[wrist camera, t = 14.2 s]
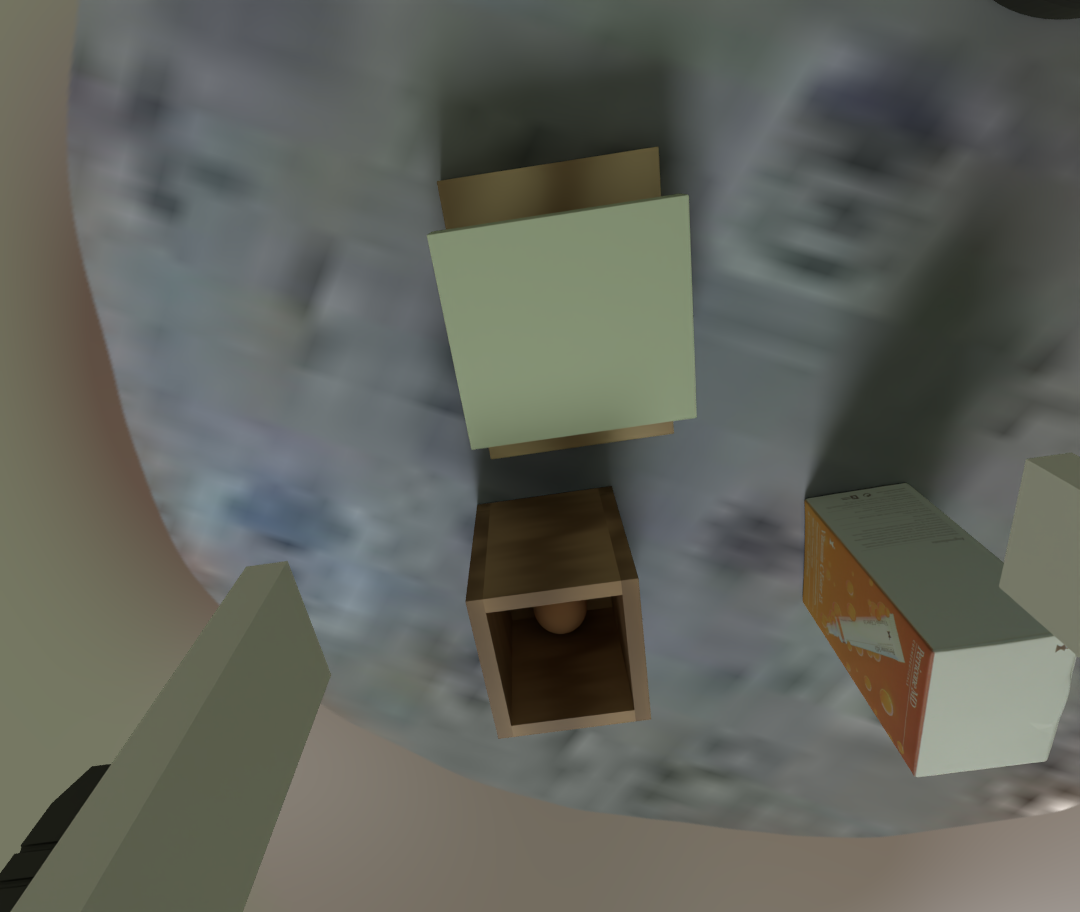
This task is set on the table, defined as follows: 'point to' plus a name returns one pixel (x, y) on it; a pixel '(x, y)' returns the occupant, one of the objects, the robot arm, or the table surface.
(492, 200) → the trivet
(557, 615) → the ball
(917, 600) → the small box
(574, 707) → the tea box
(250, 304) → the table surface
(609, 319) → the lid
